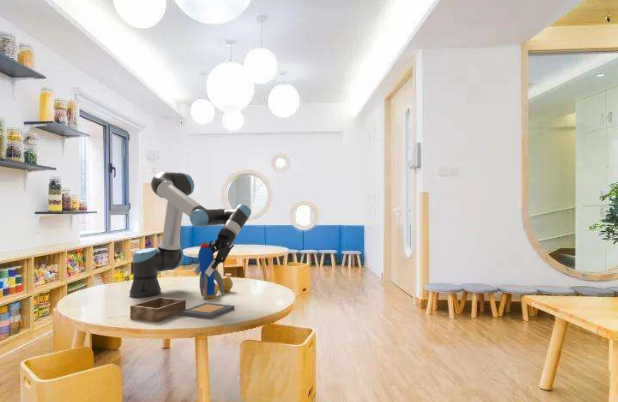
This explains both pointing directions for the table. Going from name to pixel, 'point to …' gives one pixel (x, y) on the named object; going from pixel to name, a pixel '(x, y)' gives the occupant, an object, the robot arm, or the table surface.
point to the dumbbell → (227, 287)
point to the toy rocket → (205, 281)
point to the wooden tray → (157, 309)
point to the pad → (207, 310)
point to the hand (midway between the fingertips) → (201, 273)
